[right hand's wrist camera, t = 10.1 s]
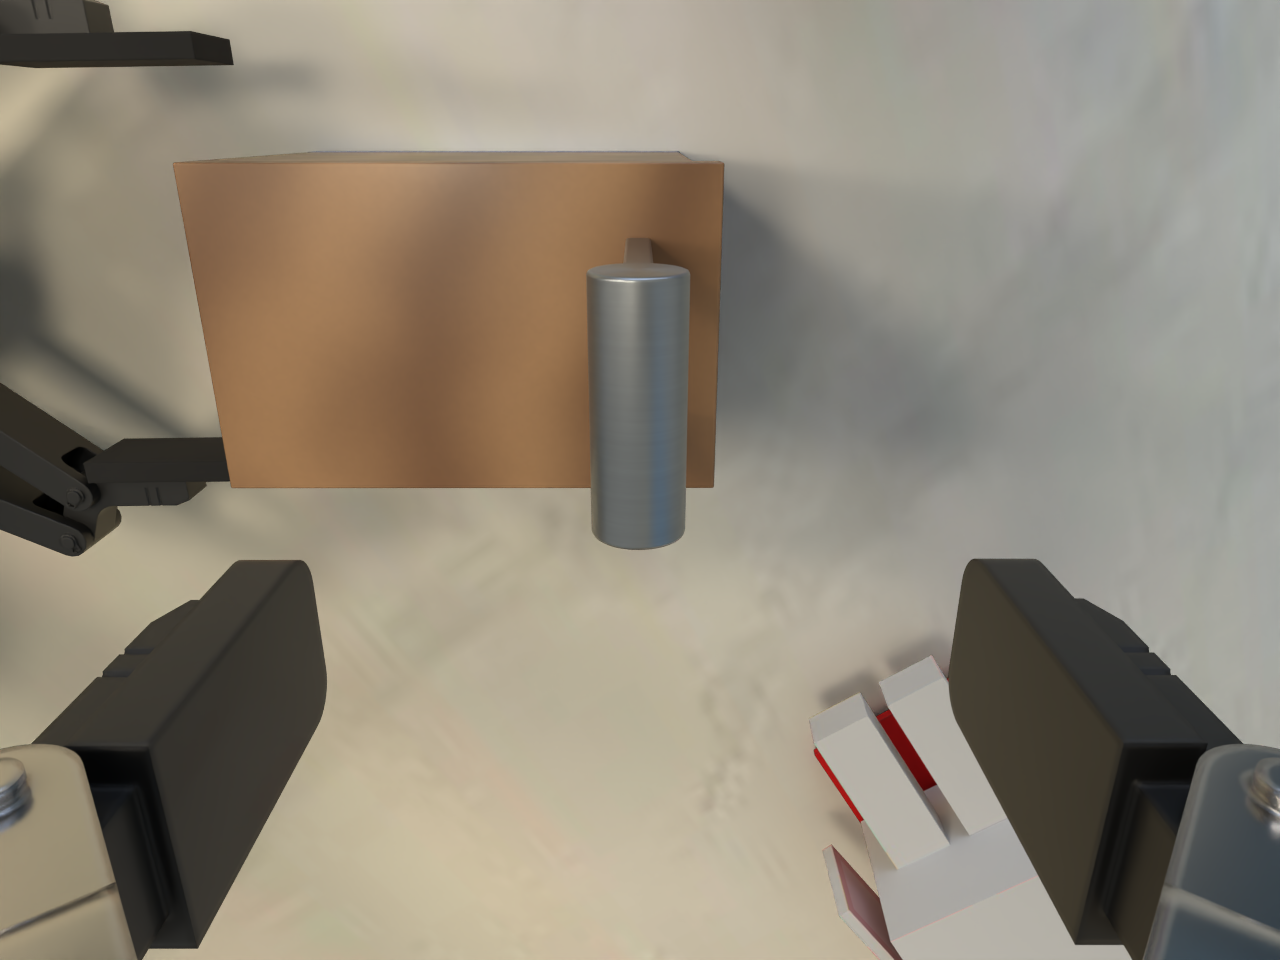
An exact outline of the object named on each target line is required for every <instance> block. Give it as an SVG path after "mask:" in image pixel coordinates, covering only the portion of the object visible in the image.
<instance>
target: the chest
mask: <svg viewBox="0 0 1280 960" xmlns="http://www.w3.org/2000/svg"><path fill="white" fill-rule="evenodd" d="M202 161H692V160H690V159H688V158H687V157H685V156H683V155H682V154H680V152H679V151H316V152H307V153H294V154H281V155H268V156H255V157H241V158H228V159H215V160H202Z"/></svg>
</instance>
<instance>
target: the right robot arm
mask: <svg viewBox="0 0 1280 960" xmlns="http://www.w3.org/2000/svg"><path fill="white" fill-rule="evenodd" d="M948 682H949V696H950V702H951V707H952V711H953V714H954V717H955V720H956V722H957V724H958V726H959V728H960V730H961V732H962V734H963V735H964V737H965V739H966V741H967V743H968V745H969V747H970V749H971V750H972V752H973V754H974V756H975V758H976V760H977V762H978V764H979V765H980V767H981V769H982V771H983V773H984V775H985V777H986V779H987V781H988V782H989V784H990V786H991V788H992V790H993V792H994V794H995V796H996V797H997V799H998V801H999V803H1000V805H1001V807H1002V809H1003V811H1004V812H1005V814H1006V816H1007V818H1008V820H1009V822H1010V824H1011V826H1012V827H1013V829H1014V831H1015V833H1016V835H1017V837H1018V839H1019V841H1020V843H1021V844H1022V846H1023V848H1024V850H1025V852H1026V854H1027V856H1028V858H1029V859H1030V861H1031V863H1032V865H1033V867H1034V869H1035V871H1036V873H1037V874H1038V876H1039V878H1040V880H1041V882H1042V884H1043V886H1044V888H1045V889H1046V891H1047V893H1048V895H1049V897H1050V899H1051V901H1052V903H1053V905H1054V906H1055V908H1056V910H1057V912H1058V914H1059V916H1060V918H1061V920H1062V921H1063V923H1064V925H1065V927H1066V929H1067V931H1068V933H1069V935H1070V936H1071V938H1072V940H1073V942H1074V944H1075V945H1124V947H1125V948H1126V950H1127V952H1128V953H1129V955H1130V957H1131V959H1132V960H1280V749H1277V748H1272V747H1267V746H1260V745H1252V744H1243V743H1242V742H1241V741H1240V740H1239V739H1238V738H1237V737H1236V736H1235V735H1234V734H1233V733H1232V732H1231V731H1230V730H1229V729H1228V728H1227V727H1226V726H1225V725H1224V724H1223V723H1222V722H1221V721H1220V720H1219V719H1218V718H1217V717H1216V715H1215V714H1214V713H1213V712H1212V711H1211V710H1210V709H1209V708H1208V707H1207V706H1206V705H1205V704H1204V703H1203V702H1202V701H1201V700H1200V699H1199V698H1198V697H1197V696H1196V695H1195V694H1194V693H1193V692H1192V691H1191V690H1190V689H1189V688H1188V687H1187V686H1186V685H1185V684H1184V683H1183V682H1182V681H1181V680H1180V679H1179V678H1178V677H1177V676H1176V675H1171V673H1170V668H1169V667H1168V666H1167V665H1166V664H1165V663H1164V662H1163V661H1162V660H1161V659H1160V658H1159V657H1158V656H1157V655H1156V654H1155V653H1149V647H1148V646H1147V645H1146V644H1145V643H1144V642H1143V641H1142V640H1141V639H1140V638H1139V637H1138V636H1137V635H1136V634H1135V633H1134V632H1133V631H1132V630H1131V629H1130V628H1129V627H1128V626H1127V625H1126V624H1125V623H1124V621H1122V620H1120V619H1119V618H1117V617H1115V616H1113V615H1112V614H1110V613H1108V612H1106V611H1105V610H1103V609H1101V608H1099V607H1097V606H1096V605H1094V604H1092V603H1090V602H1089V601H1087V600H1085V599H1075V598H1074V597H1073V596H1072V595H1071V594H1070V593H1069V592H1068V591H1067V590H1066V589H1065V588H1064V587H1063V585H1062V584H1061V583H1060V582H1059V581H1058V580H1057V579H1056V578H1055V577H1054V576H1053V575H1052V574H1051V572H1050V571H1049V570H1048V569H1047V568H1046V567H1045V566H1044V565H1043V564H1042V563H1041V562H1040V561H1039V560H1037V559H972V560H971V561H970V562H969V563H968V564H967V566H966V568H965V571H964V574H963V579H962V585H961V591H960V598H959V605H958V612H957V618H956V625H955V632H954V639H953V645H952V652H951V659H950V666H949V678H948ZM326 690H327V673H326V665H325V659H324V652H323V645H322V639H321V632H320V626H319V619H318V612H317V606H316V599H315V592H314V586H313V580H312V576H311V572H310V570H309V567H308V566H307V564H306V563H305V562H304V561H302V560H239V561H237V562H235V563H234V564H233V565H232V566H231V567H230V568H229V569H228V570H227V571H226V572H225V573H224V574H223V575H222V576H221V578H220V579H219V580H218V581H217V582H216V583H215V584H214V585H213V586H212V587H211V588H210V589H209V590H208V591H207V593H206V594H205V595H204V596H203V597H202V598H201V599H200V600H190V601H188V602H187V603H185V604H183V605H181V606H180V607H178V608H176V609H174V610H172V611H171V612H169V613H167V614H165V615H164V616H162V617H160V618H158V619H157V620H155V621H153V622H151V623H150V624H149V625H148V626H147V627H146V628H145V629H144V630H143V631H142V632H141V633H140V634H139V635H138V636H137V637H136V638H135V639H134V640H133V641H132V642H131V643H130V644H129V645H128V646H127V647H126V648H125V654H124V655H119V656H118V657H117V658H116V659H115V660H114V661H113V662H112V663H111V664H110V665H109V666H108V667H107V668H106V669H105V670H104V671H103V676H102V677H97V678H96V679H95V680H94V681H93V682H92V683H91V684H90V685H89V686H88V687H87V688H86V689H85V690H84V691H83V692H82V693H81V694H80V695H79V696H78V697H77V698H76V699H75V700H74V701H73V702H72V703H71V704H70V705H69V706H68V707H67V708H66V709H65V710H64V711H63V712H62V713H61V714H60V715H59V716H58V717H57V718H56V719H55V720H54V721H53V722H52V723H51V724H50V725H49V726H48V727H47V728H46V729H45V730H44V731H43V732H42V733H41V734H40V736H39V737H38V738H37V739H36V740H35V741H34V742H33V743H32V744H28V745H20V746H13V747H8V748H3V749H0V960H142V959H143V957H144V956H145V954H146V952H147V951H148V949H198V947H199V945H200V943H201V941H202V940H203V938H204V936H205V934H206V932H207V930H208V929H209V927H210V925H211V923H212V921H213V919H214V917H215V916H216V914H217V912H218V910H219V908H220V906H221V904H222V903H223V901H224V899H225V897H226V895H227V893H228V891H229V890H230V888H231V886H232V884H233V882H234V880H235V878H236V877H237V875H238V873H239V871H240V869H241V867H242V865H243V864H244V862H245V860H246V858H247V856H248V854H249V852H250V851H251V849H252V847H253V845H254V843H255V841H256V839H257V838H258V836H259V834H260V832H261V830H262V828H263V826H264V825H265V823H266V821H267V819H268V817H269V815H270V813H271V812H272V810H273V808H274V806H275V804H276V802H277V800H278V799H279V797H280V795H281V793H282V791H283V789H284V787H285V786H286V784H287V782H288V780H289V778H290V776H291V774H292V773H293V771H294V769H295V767H296V765H297V763H298V761H299V760H300V758H301V756H302V754H303V752H304V750H305V748H306V747H307V745H308V743H309V741H310V739H311V737H312V735H313V734H314V732H315V730H316V728H317V726H318V724H319V722H320V720H321V717H322V714H323V710H324V705H325V699H326Z"/></svg>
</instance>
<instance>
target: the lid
mask: <svg viewBox="0 0 1280 960" xmlns="http://www.w3.org/2000/svg"><path fill="white" fill-rule="evenodd" d="M173 167H174V172H175V178H176V183H177V189H178V194H179V200H180V206H181V211H182V217H183V222H184V228H185V233H186V239H187V244H188V250H189V255H190V261H191V266H192V272H193V278H194V283H195V289H196V294H197V300H198V305H199V311H200V316H201V322H202V327H203V333H204V339H205V344H206V350H207V355H208V361H209V366H210V372H211V377H212V383H213V388H214V394H215V399H216V405H217V411H218V416H219V422H220V427H221V433H222V438H223V444H224V449H225V455H226V460H227V466H228V471H229V477H230V483H231V487H232V488H591V518H592V532H593V534H594V536H595V537H596V538H597V539H598V540H599V541H601V542H603V543H605V544H607V545H610V546H613V547H617V548H622V549H631V550H646V549H655V548H660V547H664V546H667V545H670V544H672V543H674V542H676V541H677V540H679V539H680V538H681V537H682V535H683V533H684V531H685V507H686V488H713V487H714V466H715V436H716V405H717V374H718V344H719V313H720V282H721V252H722V221H723V190H724V163H722V162H720V161H188V162H175V163H173Z"/></svg>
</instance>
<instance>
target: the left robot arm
mask: <svg viewBox="0 0 1280 960" xmlns="http://www.w3.org/2000/svg"><path fill="white" fill-rule="evenodd" d="M0 64H1V65H11V66H21V67H31V68H68V67H134V66H200V65H234V64H233V58H232V52H231V46H230V40H229V39H224V38H220V37H215V36H210V35H206V34H201V33H196V32H192V31H175V32H114V30H113V25H112V21H111V16H110V11H109V6H108V5H106V4H103V3H101V2H98V1H96V0H0ZM220 481H230V477H229V471H228V466H227V460H226V455H225V449H224V444H223V438H222V437H217V438H142V439H123V440H121V441H120V442H118V443H116V444H115V445H113V446H111V447H110V448H108V449H106V450H105V451H103V450H102V449H100V448H99V447H97V446H96V445H94V444H93V443H91V442H90V441H88V440H87V439H85V438H84V437H82V436H80V435H79V434H77V433H76V432H74V431H73V430H71V429H70V428H68V427H67V426H65V425H64V424H62V423H61V422H59V421H58V420H56V419H55V418H53V417H52V416H50V415H49V414H47V413H45V412H44V411H42V410H41V409H39V408H38V407H36V406H35V405H33V404H32V403H30V402H29V401H27V400H26V399H24V398H23V397H21V396H20V395H18V394H17V393H15V392H14V391H12V390H10V389H9V388H7V387H6V386H4V385H3V384H1V383H0V530H3V531H5V532H8V533H11V534H13V535H16V536H18V537H21V538H23V539H26V540H29V541H31V542H34V543H36V544H39V545H41V546H44V547H47V548H49V549H52V550H54V551H57V552H59V553H62V554H65V555H68V556H79V555H80V554H82V553H84V552H85V551H86V550H88V549H89V548H90V547H92V546H93V545H94V544H96V543H97V542H98V541H99V540H101V539H102V538H103V537H105V536H106V535H107V534H109V533H110V532H111V531H112V530H114V529H115V528H116V527H118V526H119V524H120V522H121V514H120V511H119V510H118V509H117V506H149V505H151V506H155V505H179V504H181V503H183V502H186V501H188V500H190V499H191V498H192V497H194V496H195V495H196V494H197V493H199V492H200V491H201V490H202V489H203V488H205V487H206V486H207V485H206V482H220Z"/></svg>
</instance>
